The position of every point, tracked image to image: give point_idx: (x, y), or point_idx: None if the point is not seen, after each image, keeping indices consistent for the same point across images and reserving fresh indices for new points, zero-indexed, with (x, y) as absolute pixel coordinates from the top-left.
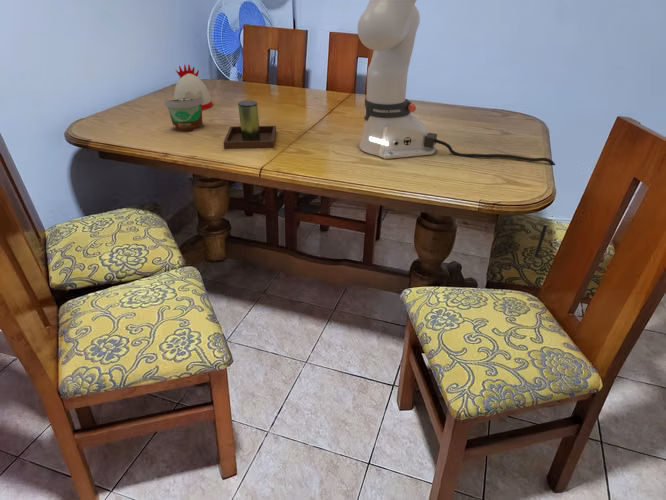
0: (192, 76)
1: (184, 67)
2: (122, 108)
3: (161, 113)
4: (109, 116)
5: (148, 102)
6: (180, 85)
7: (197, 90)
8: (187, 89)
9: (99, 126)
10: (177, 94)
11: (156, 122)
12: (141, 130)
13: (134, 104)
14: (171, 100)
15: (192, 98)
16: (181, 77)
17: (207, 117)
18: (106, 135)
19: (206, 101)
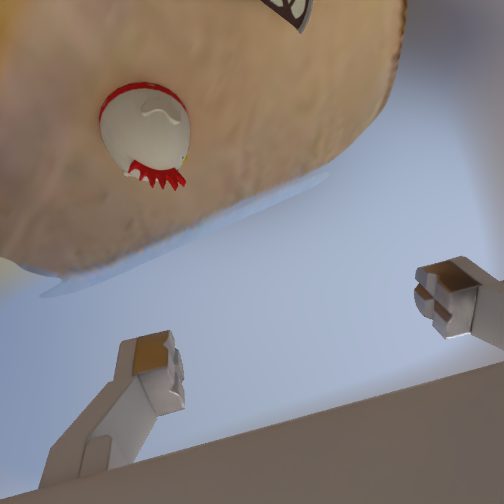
0: (151, 155)
1: (165, 181)
2: (252, 185)
3: (224, 118)
4: (292, 157)
5: (202, 193)
6: (182, 148)
7: (150, 116)
8: (173, 128)
9: (336, 117)
10: (188, 137)
11: (267, 68)
12: (317, 39)
13: (226, 195)
14: (291, 18)
15: (167, 104)
16: (173, 167)
17: (165, 13)
18: (366, 60)
19: (128, 95)
